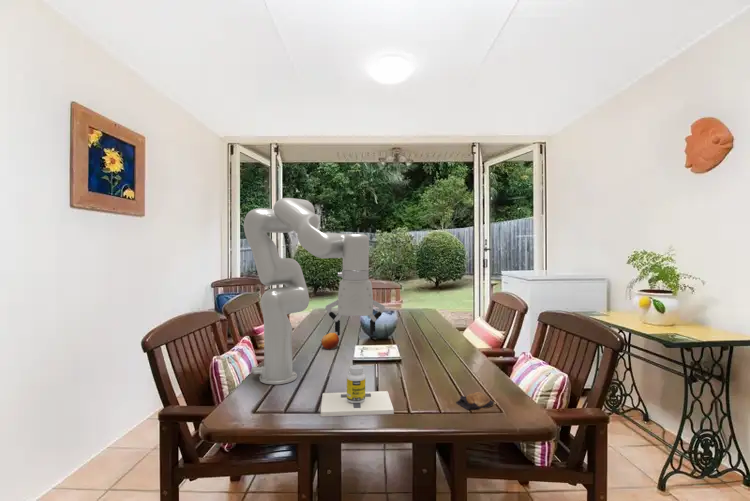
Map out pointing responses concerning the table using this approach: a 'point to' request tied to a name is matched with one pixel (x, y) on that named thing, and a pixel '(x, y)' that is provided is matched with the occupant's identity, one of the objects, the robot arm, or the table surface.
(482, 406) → the cookie on black wrapper
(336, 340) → the fruit
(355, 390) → the supplement bottle
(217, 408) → the table surface
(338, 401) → the board
